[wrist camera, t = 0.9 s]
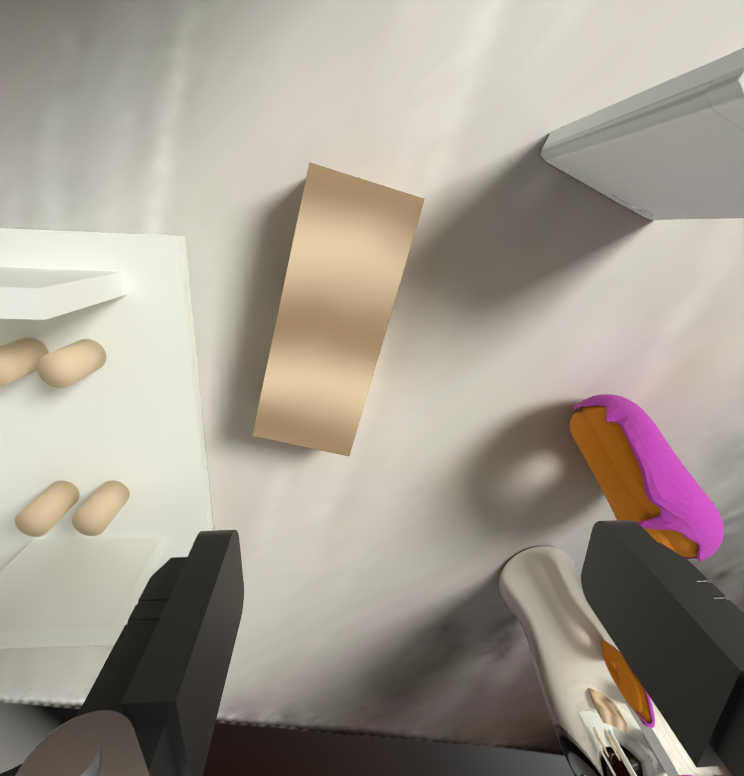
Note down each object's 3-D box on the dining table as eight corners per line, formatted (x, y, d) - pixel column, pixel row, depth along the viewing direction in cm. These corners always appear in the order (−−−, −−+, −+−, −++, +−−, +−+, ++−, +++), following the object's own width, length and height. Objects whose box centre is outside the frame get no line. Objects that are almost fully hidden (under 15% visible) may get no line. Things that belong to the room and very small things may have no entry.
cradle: (-98, 223, 22) (-318, 220, 15) (184, 235, 23) (113, 238, 16) (6, 566, 30) (-105, 680, 22) (216, 562, 31) (178, 668, 23)
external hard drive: (653, 224, 25) (926, 220, 14) (536, 158, 24) (731, 89, 12) (670, 196, 25) (967, 167, 13) (551, 127, 23) (771, 22, 11)
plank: (314, 173, 23) (309, 162, 20) (411, 204, 24) (424, 199, 20) (263, 408, 28) (252, 435, 24) (347, 426, 28) (349, 456, 25)
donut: (662, 370, 28) (821, 439, 19) (637, 491, 32) (763, 601, 22) (545, 376, 28) (650, 451, 19) (531, 499, 31) (615, 615, 22)
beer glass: (474, 593, 34) (573, 852, 20) (527, 527, 32) (678, 760, 18) (543, 622, 35) (679, 880, 21) (597, 560, 34) (785, 798, 20)
